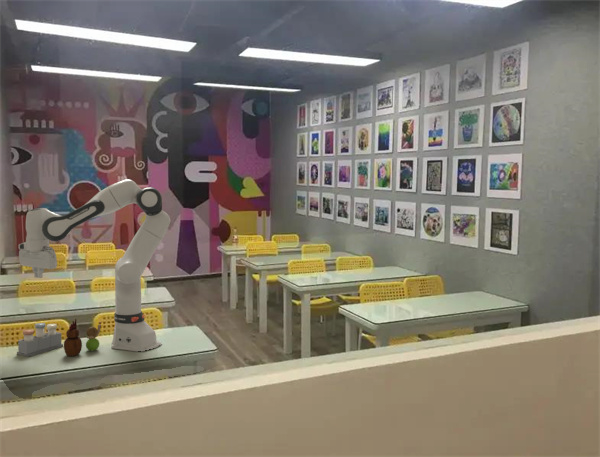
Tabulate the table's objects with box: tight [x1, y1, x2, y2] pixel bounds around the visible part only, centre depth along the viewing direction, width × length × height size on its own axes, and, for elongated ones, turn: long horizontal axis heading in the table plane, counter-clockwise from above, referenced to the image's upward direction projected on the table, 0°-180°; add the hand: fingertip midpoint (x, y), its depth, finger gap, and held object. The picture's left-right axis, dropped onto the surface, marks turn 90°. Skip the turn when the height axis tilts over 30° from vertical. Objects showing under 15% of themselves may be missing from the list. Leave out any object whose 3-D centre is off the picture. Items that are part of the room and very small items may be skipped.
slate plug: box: [34, 322, 46, 339], centre depth 220 cm, size 4×4×8 cm
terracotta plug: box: [22, 329, 35, 342], centre depth 215 cm, size 4×4×8 cm
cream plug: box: [46, 323, 58, 335], centre depth 225 cm, size 4×4×8 cm
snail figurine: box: [85, 321, 102, 352], centre depth 222 cm, size 5×6×12 cm
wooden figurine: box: [63, 318, 83, 357], centre depth 214 cm, size 7×6×15 cm
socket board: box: [16, 331, 64, 358], centre depth 220 cm, size 7×17×6 cm, turn 153°
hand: (38, 277), depth 222 cm, fingers closed
